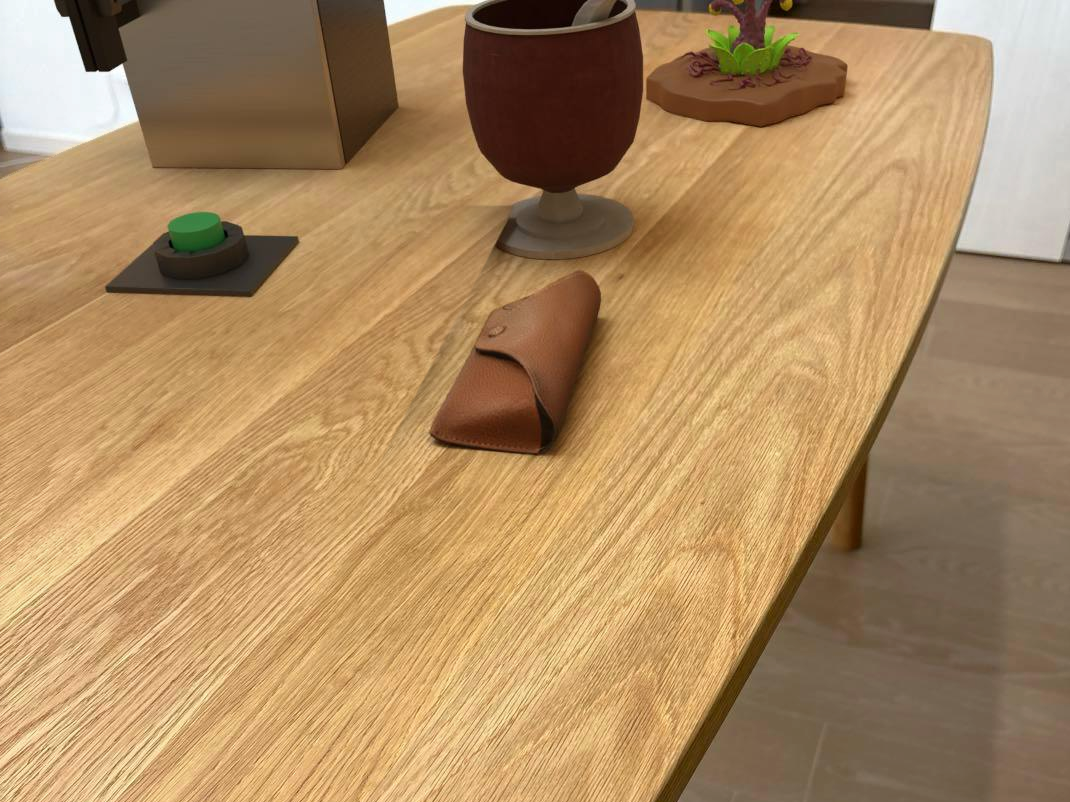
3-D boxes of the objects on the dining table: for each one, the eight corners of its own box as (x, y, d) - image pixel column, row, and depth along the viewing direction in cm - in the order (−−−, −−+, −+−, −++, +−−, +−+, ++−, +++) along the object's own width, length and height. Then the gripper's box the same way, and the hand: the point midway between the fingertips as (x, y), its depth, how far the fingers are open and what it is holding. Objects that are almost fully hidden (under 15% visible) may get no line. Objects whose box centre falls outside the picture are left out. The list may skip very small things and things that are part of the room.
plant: (614, 105, 115) (612, -9, 108) (715, 59, 126) (719, -47, 119) (777, 136, 105) (786, 12, 98) (871, 83, 116) (886, -32, 109)
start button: (164, 253, 82) (158, 231, 81) (187, 232, 85) (181, 211, 84) (212, 254, 82) (206, 232, 81) (233, 233, 85) (228, 212, 84)
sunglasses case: (487, 305, 79) (527, 231, 75) (570, 351, 80) (614, 281, 76) (423, 441, 65) (467, 360, 61) (524, 494, 66) (574, 419, 62)
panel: (113, 312, 83) (96, 264, 81) (171, 257, 91) (157, 212, 88) (256, 317, 81) (244, 268, 78) (303, 261, 88) (293, 214, 86)
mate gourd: (446, 232, 91) (415, -28, 79) (566, 185, 98) (555, -61, 85) (567, 285, 82) (554, 0, 69) (692, 230, 88) (699, -40, 76)
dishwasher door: (320, 191, 100) (263, -105, 85) (124, 188, 104) (36, -95, 89) (345, 164, 106) (295, -119, 90) (157, 163, 109) (79, -109, 94)
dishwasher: (346, 165, 106) (296, -122, 91) (158, 164, 110) (79, -111, 94) (399, 107, 119) (362, -150, 104) (230, 108, 123) (171, -140, 108)
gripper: (-172, -369, 58) (-9, 82, 73) (48, -388, 56) (170, 82, 71) (-86, -367, 64) (49, 51, 79) (117, -384, 62) (217, 50, 76)
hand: (106, 65), depth 75 cm, fingers closed
